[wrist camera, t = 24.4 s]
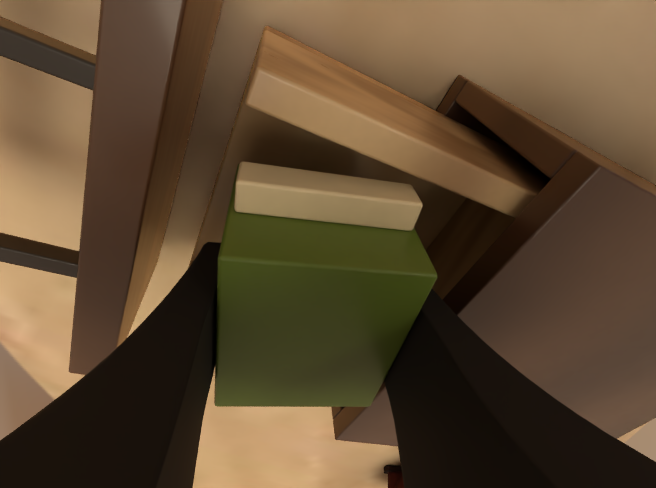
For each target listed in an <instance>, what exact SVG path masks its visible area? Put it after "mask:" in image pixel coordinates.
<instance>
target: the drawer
mask: <svg viewBox="0 0 656 488" xmlns="http://www.w3.org/2000/svg"><path fill="white" fill-rule="evenodd" d="M222 3H223V0H101V8H100V20H99V31H98V43H97V54H96V56H95V55H93V54H90V53H88V52H86V51H83V50H81V49H78V48H76V47H73V46H71V45H68V44H66V43H64V42H61V41H59V40H56V39H54V38H51V37H49V36H46V35H44V34H41V33H39V32H37V31H34V30H32V29H29V28H27V27H24V26H22V25H19V24H17V23H14V22H12V21H10V20H7V19H5V18H2V17H0V56H3V57H6V58H8V59H11V60H14V61H16V62H19V63H22V64H24V65H27V66H29V67H32V68H35V69H37V70H40V71H43V72H45V73H48V74H51V75H53V76H56V77H59V78H61V79H64V80H67V81H69V82H72V83H75V84H77V85H80V86H82V87H85V88H88V89H90V90H93V100H92V112H91V123H90V135H89V146H88V157H87V169H86V180H85V192H84V203H83V215H82V226H81V238H80V249H79V251H75V250H71V249H67V248H63V247H58V246H54V245H50V244H46V243H42V242H38V241H33V240H29V239H25V238H21V237H17V236H12V235H8V234H4V233H0V261H1V262H6V263H10V264H15V265H20V266H24V267H29V268H33V269H38V270H43V271H47V272H52V273H57V274H61V275H66V276H70V277H75V278H77V284H76V295H75V306H74V318H73V329H72V341H71V352H70V364H69V372H70V373H76V374H83V375H87V374H88V373H89V372H90V371H91V370H92V369H93V368H95V367H96V366H97V365H98V364H99V363H100V362H102V361H103V360H104V359H105V358H106V357H107V356H108V355H110V354H111V353H112V352H113V351H114V350H115V349H116V348H117V347H118V346H119V345H120V344H121V343H122V342H124V341H125V340H126V339H127V336H128V334H129V331H130V329H131V326H132V324H133V321H134V319H135V316H136V314H137V311H138V309H139V307H140V304H141V302H142V299H143V297H144V294H145V292H146V289H147V287H148V284H149V282H150V279H151V277H152V274H153V272H154V269H155V267H156V265H157V262H158V258H159V254H160V250H161V246H162V242H163V238H164V234H165V230H166V226H167V222H168V218H169V214H170V210H171V206H172V202H173V198H174V194H175V190H176V186H177V182H178V178H179V175H180V171H181V167H182V163H183V159H184V155H185V151H186V147H187V143H188V139H189V135H190V131H191V127H192V123H193V119H194V115H195V111H196V107H197V103H198V99H199V95H200V91H201V87H202V83H203V79H204V75H205V71H206V67H207V63H208V59H209V55H210V51H211V47H212V43H213V39H214V35H215V31H216V27H217V23H218V19H219V15H220V11H221V7H222ZM240 162H251V163H258V164H265V165H273V166H280V167H287V168H294V169H302V170H309V171H316V172H324V173H331V174H338V175H345V176H353V177H360V178H367V179H375V180H382V181H389V182H396V183H404V184H410V185H412V186H413V188H414V190H415V192H416V193H417V195H418V197H419V198H420V200H421V202H422V209H421V211H420V214H419V216H418V218H417V221H416V223H415V226H414V228H415V230H416V232H417V234H418V236H419V238H420V240H421V242H422V244H423V246H424V248H425V250H426V252H427V254H428V256H429V258H430V260H431V262H432V264H433V266H434V268H435V270H436V272H437V279H436V281H435V283H434V285H433V287H432V289H433V290H434V291H435V292H436V293H437V294H438V296H439V297H440V298H441V299H443V298H444V297H445V296H446V295H447V294H448V293H449V291H450V290H451V289H452V288H453V287H454V286H455V285H456V284H457V283H458V282H459V280H460V279H461V278H462V277H463V276H464V275H465V274H466V273H467V272H468V270H469V269H470V268H471V267H472V266H473V265H474V264H475V263H476V262H477V261H478V259H479V258H480V257H481V256H482V255H483V254H484V253H485V252H486V251H487V250H488V248H489V247H490V246H491V245H492V244H493V243H494V242H495V241H496V240H497V238H498V237H499V236H500V235H501V234H502V233H503V232H504V231H505V230H506V229H507V227H508V226H509V225H510V224H511V223H512V222H513V221H514V220H515V219H516V217H517V216H518V215H519V214H520V213H521V212H522V211H523V210H524V209H525V208H526V206H527V205H528V204H529V203H530V202H531V201H532V200H533V199H534V198H535V196H536V195H537V194H538V193H539V192H540V191H541V190H542V189H543V188H544V187H545V185H546V184H547V183H548V182H549V180H548V179H546V178H545V177H544V176H543V175H541V174H540V173H539V172H538V171H537V170H535V169H534V168H533V167H532V166H531V165H529V164H528V163H527V162H526V161H524V160H523V159H522V158H521V157H519V156H517V154H516V153H514V152H513V151H512V150H511V149H510V148H508V147H506V146H504V145H502V144H500V143H498V142H496V141H494V140H492V139H490V138H488V137H486V136H484V135H482V134H480V133H478V132H476V131H474V130H472V129H470V128H468V127H466V126H465V125H463V124H461V123H459V122H457V121H455V120H453V119H451V118H449V117H447V116H445V115H443V114H441V113H439V112H437V111H435V110H433V109H431V108H429V107H427V106H425V105H423V104H421V103H419V102H417V101H415V100H413V99H411V98H409V97H407V96H405V95H403V94H401V93H399V92H397V91H395V90H393V89H391V88H389V87H388V86H386V85H384V84H382V83H380V82H378V81H376V80H374V79H372V78H370V77H368V76H366V75H364V74H362V73H360V72H358V71H356V70H354V69H352V68H350V67H348V66H346V65H344V64H342V63H340V62H338V61H336V60H334V59H332V58H330V57H328V56H326V55H324V54H322V53H320V52H318V51H316V50H314V49H313V48H311V47H309V46H307V45H305V44H303V43H301V42H299V41H297V40H295V39H293V38H291V37H289V36H287V35H285V34H283V33H281V32H279V31H277V30H275V29H273V28H271V27H269V26H266V27H265V28H264V30H263V33H262V37H261V40H260V43H259V46H258V49H257V52H256V56H255V59H254V62H253V65H252V68H251V71H250V75H249V78H248V81H247V84H246V87H245V90H244V93H243V97H242V100H241V103H240V106H239V109H238V112H237V116H236V119H235V122H234V125H233V128H232V131H231V134H230V138H229V141H228V144H227V147H226V150H225V153H224V157H223V160H222V163H221V166H220V169H219V172H218V175H217V179H216V182H215V185H214V188H213V191H212V194H211V198H210V201H209V204H208V207H207V210H206V213H205V217H204V220H203V223H202V226H201V229H200V232H199V235H198V239H197V242H196V245H195V248H194V251H193V254H192V258H191V261H190V264H189V267H190V265H191V264H192V263H193V261H194V260H195V258H196V257H197V255H198V254H199V252H200V250H201V249H202V247H203V245H204V244H205V243H207V242H217V243H221V240H222V236H223V231H224V226H225V221H226V216H227V212H228V207H229V202H230V197H231V193H232V188H233V183H234V178H235V173H236V169H237V165H238V164H240ZM189 267H188V268H189ZM213 376H215V368H214V372H213Z"/></svg>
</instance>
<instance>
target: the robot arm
mask: <svg viewBox="0 0 656 488" xmlns="http://www.w3.org/2000/svg"><path fill="white" fill-rule="evenodd" d="M220 245H221V243H217V242H207V243H205V244H204V245H203V247H202V249H201V250H200V252H199V254H198V255H197V257H196V258H195V260H194V261H193V263H192V264H191V265H190V267H189V268H188V270H187V271H186V272H185V274H184V275H183V276H182V278H181V279H180V280H179V281H178V283H177V284H176V285H175V286H174V288H173V289H172V290H171V291H170V293H169V294H168V295H167V296H166V297H165V298H164V300H163V301H162V302H161V303H160V304H159V305H158V306H157V307H156V308H155V310H154V311H153V312H152V313H151V314H150V315H149V316H148V317H147V318H146V319H145V321H144V322H143V323H142V324H141V325H140V326H139V327H138V328H137V329H136V330H135V331H134V332H133V333H132V334H131V335H130V336H129V337H128V338H127V339H126V340H125V341H124V342H122V343H121V344H120V345H119V346H118V347H117V348H116V349H115V350H114V351H113V352H112V353H111V354H110V355H108V356H107V357H106V358H105V359H104V360H103V361H102V362H100V363H99V364H98V365H97V366H96V367H95V368H93V369H92V370H91V371H90V372H89V373H88V374H87V375H85V376H84V377H83V378H82V379H81V380H79V381H78V382H77V383H76V384H75V385H73V386H72V387H71V388H70V389H68V390H67V391H66V392H65V393H63V394H62V395H61V396H59V397H58V398H57V399H55V400H54V401H53V402H52V403H50V404H49V405H48V406H46V407H45V408H44V409H42V410H41V411H40V412H38V413H37V414H36V415H34V416H33V417H32V418H30V419H29V420H28V421H26V422H25V423H24V424H22V425H21V426H20V427H18V428H17V429H16V430H14V431H13V432H12V433H10V434H9V435H7V436H6V437H5V438H3V439H2V440H0V488H192V487H193V480H194V473H195V466H196V460H197V453H198V446H199V440H200V433H201V427H202V420H203V415H204V410H205V405H206V401H207V397H208V393H209V389H210V385H211V381H212V376H213V372H214V368H215V359H216V315H217V271H218V255H219V250H220ZM384 383H385V386H386V390H387V394H388V397H389V401H390V405H391V410H392V414H393V418H394V424H395V430H396V436H397V442H398V448H399V455H400V462H401V469H402V476H403V483H404V488H656V462H655V461H653V460H651V459H650V458H648V457H646V456H645V455H643V454H641V453H639V452H638V451H636V450H635V449H633V448H631V447H629V446H628V445H626V444H624V443H623V442H621V441H619V440H618V439H616V438H614V437H612V436H611V435H609V434H608V433H606V432H604V431H603V430H601V429H600V428H598V427H597V426H595V425H594V424H592V423H591V422H589V421H588V420H586V419H584V418H583V417H581V416H580V415H578V414H577V413H575V412H574V411H572V410H571V409H570V408H568V407H567V406H565V405H564V404H562V403H561V402H559V401H558V400H557V399H555V398H554V397H552V396H551V395H550V394H548V393H547V392H546V391H544V390H543V389H542V388H540V387H539V386H538V385H536V384H535V383H533V382H532V381H531V380H529V379H528V378H527V377H526V376H524V375H523V374H522V373H521V372H519V371H518V370H517V369H516V368H514V367H513V366H512V365H511V364H510V363H508V362H507V361H506V360H505V359H504V358H502V357H501V356H500V355H499V354H498V353H497V352H495V351H494V350H493V349H492V348H491V347H490V346H489V345H487V344H486V343H485V342H484V341H483V340H482V339H481V338H480V337H479V336H478V335H477V334H476V333H475V332H474V331H473V330H472V329H471V328H469V327H468V326H467V325H466V324H465V323H464V322H463V321H462V320H461V319H460V318H459V317H458V316H457V315H456V314H455V313H454V311H453V310H452V309H451V308H450V307H449V306H448V305H447V304H446V303H445V302H444V301H443V300H442V299H441V298H440V297H439V296H438V294H437V293H436V292H435V291H434V290H433V289H431V291H430V293H429V295H428V297H427V298H426V300H425V302H424V304H423V306H422V308H421V310H420V312H419V314H418V316H417V318H416V320H415V321H414V323H413V325H412V327H411V329H410V331H409V333H408V335H407V337H406V339H405V341H404V343H403V344H402V346H401V348H400V350H399V352H398V354H397V356H396V358H395V360H394V362H393V364H392V366H391V367H390V369H389V371H388V373H387V375H386V377H385V379H384Z"/></svg>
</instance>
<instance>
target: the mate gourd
mask: <svg viewBox="0 0 656 488" xmlns="http://www.w3.org/2000/svg"><path fill="white" fill-rule="evenodd" d="M384 473H386V474H388V488H404V483H403V476H402V469H401V466H391V465H387V466H385V467H384Z"/></svg>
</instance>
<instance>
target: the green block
mask: <svg viewBox="0 0 656 488" xmlns="http://www.w3.org/2000/svg"><path fill="white" fill-rule="evenodd" d="M421 209H422V202H421V200H420V198H419V197H418V195H417V193H416V192H415V190H414V188H413V186H412V185H410V184H404V183H396V182H389V181H382V180H375V179H367V178H360V177H353V176H345V175H338V174H331V173H324V172H316V171H309V170H302V169H294V168H287V167H280V166H273V165H265V164H258V163H251V162H240V164H238V165H237V169H236V173H235V178H234V183H233V188H232V193H231V197H230V202H229V207H228V212H227V216H226V221H225V226H224V231H223V236H222V240H221V245H220V250H219V255H218V271H217V315H216V359H215V406H290V407H368V406H371V404H372V402H373V400H374V398H375V396H376V394H377V392H378V390H379V389H380V387H381V385H382V383H383V381H384V379H385V377H386V375H387V373H388V371H389V369H390V367H391V366H392V364H393V362H394V360H395V358H396V356H397V354H398V352H399V350H400V348H401V346H402V344H403V343H404V341H405V339H406V337H407V335H408V333H409V331H410V329H411V327H412V325H413V323H414V321H415V320H416V318H417V316H418V314H419V312H420V310H421V308H422V306H423V304H424V302H425V300H426V298H427V297H428V295H429V293H430V291H431V289H432V287H433V285H434V283H435V281H436V279H437V272H436V270H435V268H434V266H433V264H432V262H431V260H430V258H429V256H428V254H427V252H426V250H425V248H424V246H423V244H422V242H421V240H420V238H419V236H418V234H417V232H416V230H415V228H414V226H415V223H416V221H417V218H418V216H419V214H420V211H421Z"/></svg>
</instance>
